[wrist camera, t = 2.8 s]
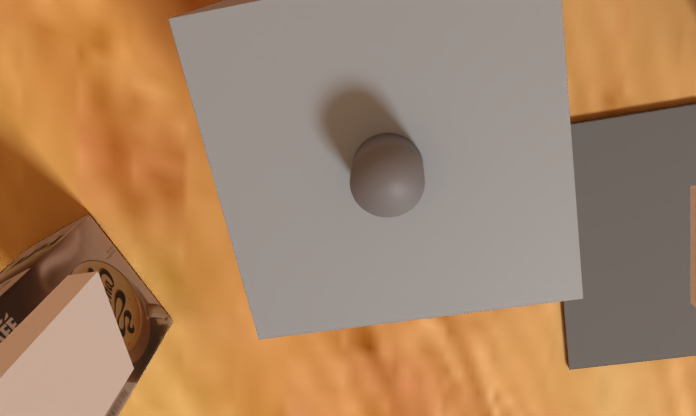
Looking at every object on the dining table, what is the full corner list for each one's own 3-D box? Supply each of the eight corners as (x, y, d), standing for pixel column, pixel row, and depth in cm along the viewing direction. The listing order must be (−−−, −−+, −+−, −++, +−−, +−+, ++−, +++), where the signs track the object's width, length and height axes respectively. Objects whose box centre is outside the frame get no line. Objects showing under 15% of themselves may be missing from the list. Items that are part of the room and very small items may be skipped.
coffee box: (15, 255, 42) (-196, 428, 27) (91, 210, 41) (-88, 367, 26) (103, 361, 45) (-46, 572, 30) (178, 323, 43) (61, 525, 28)
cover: (308, 200, 39) (250, 364, 24) (259, -13, 35) (151, 24, 20) (516, 167, 38) (595, 322, 22) (492, -60, 33) (570, -60, 18)
